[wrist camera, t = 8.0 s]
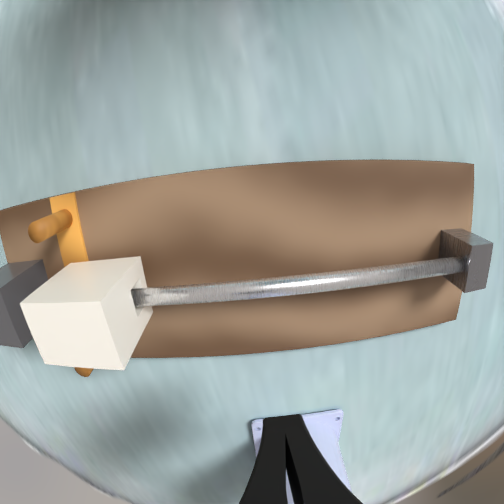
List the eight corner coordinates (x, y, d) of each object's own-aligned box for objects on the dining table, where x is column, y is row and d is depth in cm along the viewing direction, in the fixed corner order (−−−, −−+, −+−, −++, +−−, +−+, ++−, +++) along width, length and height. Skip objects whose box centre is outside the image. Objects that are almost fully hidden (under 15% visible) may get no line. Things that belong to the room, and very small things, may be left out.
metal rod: (449, 263, 19) (485, 288, 15) (62, 298, 19) (31, 329, 15) (453, 224, 18) (493, 243, 14) (51, 261, 18) (16, 286, 14)
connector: (58, 310, 19) (23, 348, 14) (23, 310, 19) (-12, 343, 14) (42, 259, 17) (-1, 288, 13) (7, 263, 17) (-34, 289, 13)
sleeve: (153, 312, 18) (124, 369, 12) (85, 313, 18) (45, 363, 12) (140, 256, 17) (100, 301, 11) (70, 263, 17) (19, 303, 11)
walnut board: (449, 313, 21) (479, 342, 16) (45, 346, 21) (21, 376, 17) (465, 162, 17) (507, 169, 13) (3, 209, 17) (-35, 224, 13)
